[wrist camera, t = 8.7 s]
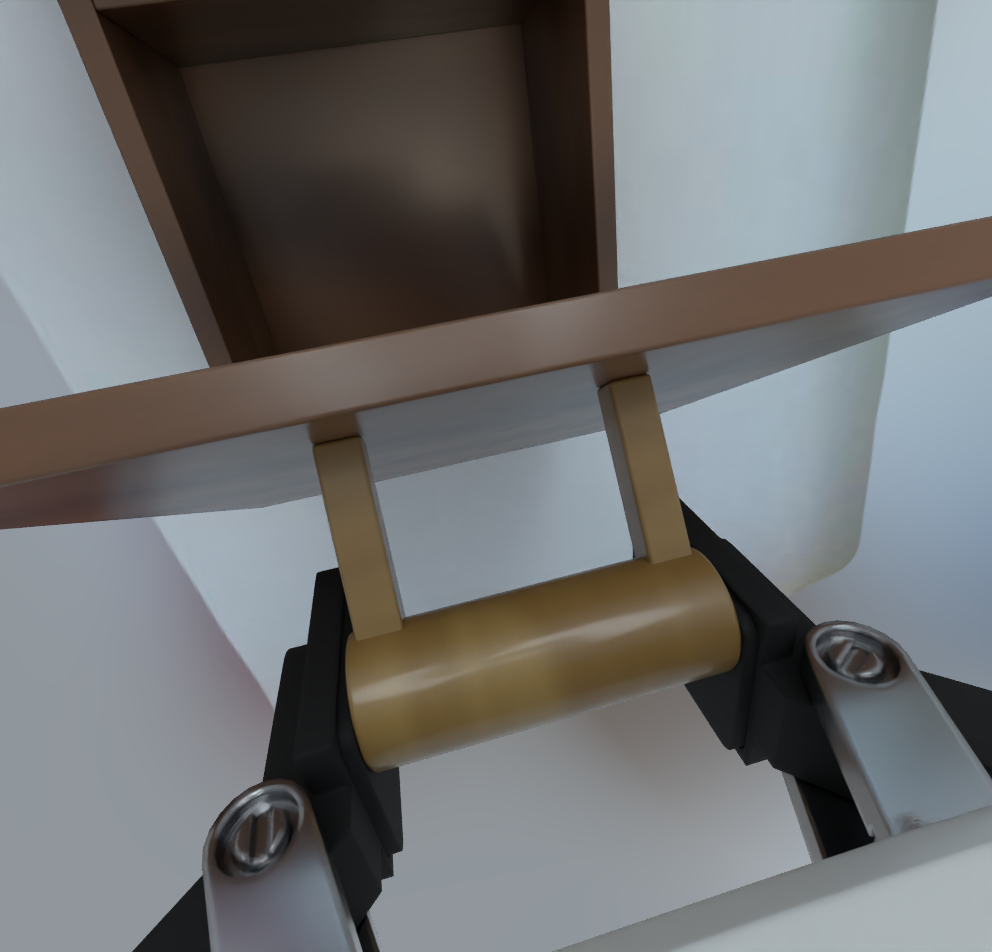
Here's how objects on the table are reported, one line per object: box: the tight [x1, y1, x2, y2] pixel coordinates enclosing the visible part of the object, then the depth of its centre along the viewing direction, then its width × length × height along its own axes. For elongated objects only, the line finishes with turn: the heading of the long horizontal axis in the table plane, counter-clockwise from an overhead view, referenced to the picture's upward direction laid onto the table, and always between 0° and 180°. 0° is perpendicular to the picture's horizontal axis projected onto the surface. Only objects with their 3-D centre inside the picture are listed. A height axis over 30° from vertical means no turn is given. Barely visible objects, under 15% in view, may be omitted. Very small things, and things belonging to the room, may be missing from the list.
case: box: [57, 0, 618, 368], centre depth 24 cm, size 17×17×9 cm
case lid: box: [0, 216, 992, 773], centre depth 15 cm, size 18×17×6 cm
